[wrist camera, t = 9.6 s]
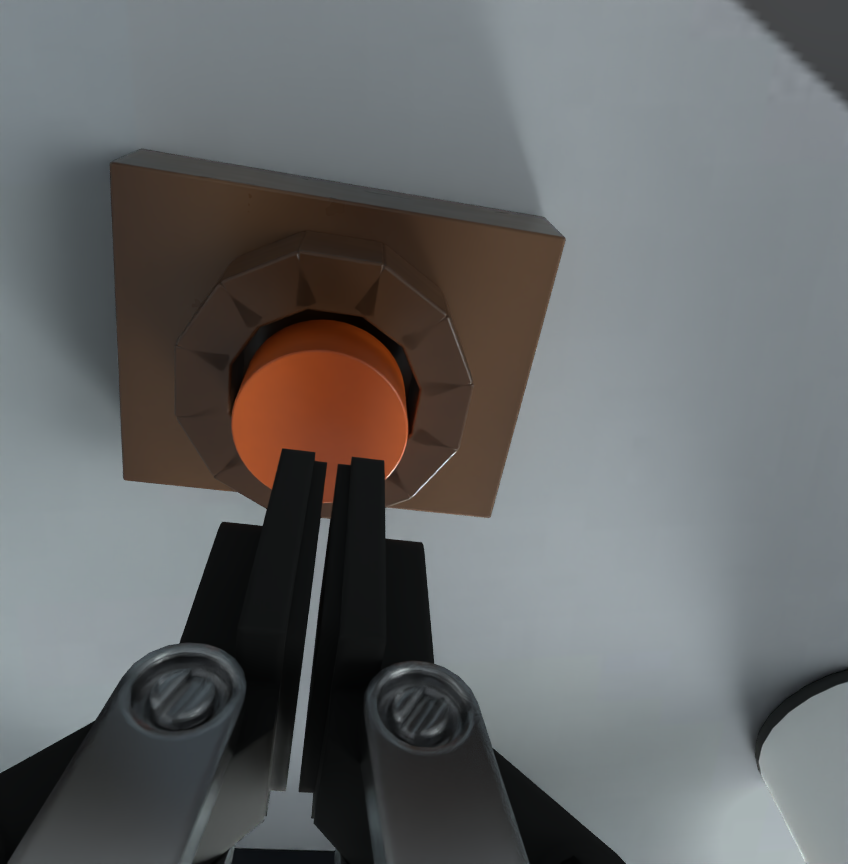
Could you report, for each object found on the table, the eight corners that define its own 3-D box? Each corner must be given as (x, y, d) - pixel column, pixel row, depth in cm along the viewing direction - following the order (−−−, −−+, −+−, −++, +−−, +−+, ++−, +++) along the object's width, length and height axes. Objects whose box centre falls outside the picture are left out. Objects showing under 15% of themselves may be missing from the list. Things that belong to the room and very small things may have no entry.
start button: (241, 452, 16) (227, 494, 15) (248, 307, 14) (234, 338, 13) (392, 469, 17) (394, 512, 15) (416, 331, 15) (421, 363, 13)
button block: (146, 439, 20) (98, 522, 16) (139, 147, 16) (75, 175, 13) (480, 476, 21) (501, 560, 18) (545, 216, 17) (589, 258, 14)
